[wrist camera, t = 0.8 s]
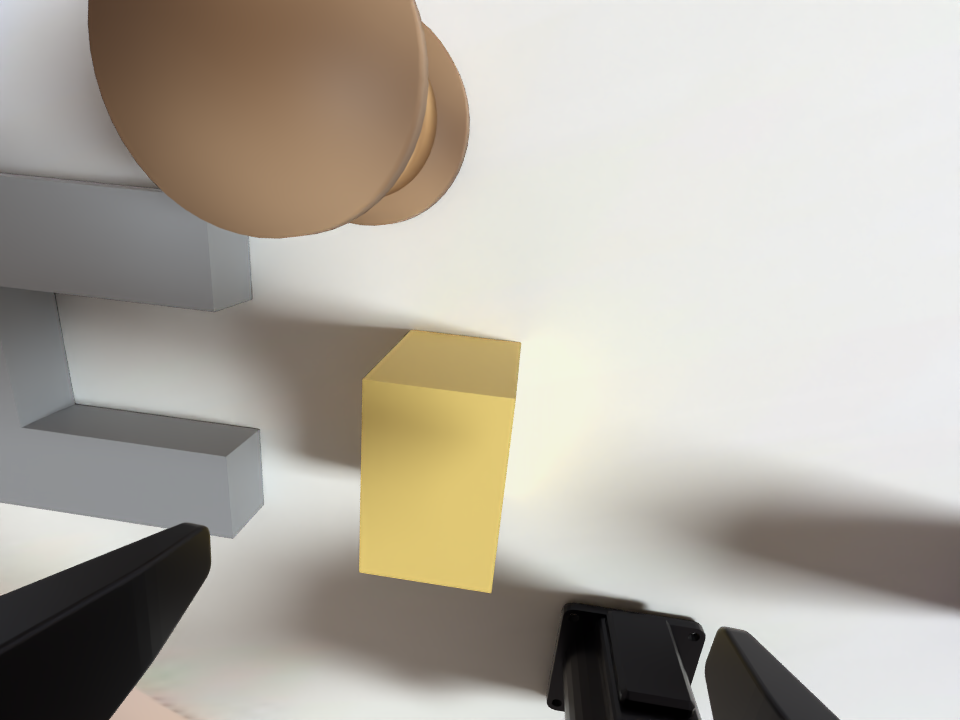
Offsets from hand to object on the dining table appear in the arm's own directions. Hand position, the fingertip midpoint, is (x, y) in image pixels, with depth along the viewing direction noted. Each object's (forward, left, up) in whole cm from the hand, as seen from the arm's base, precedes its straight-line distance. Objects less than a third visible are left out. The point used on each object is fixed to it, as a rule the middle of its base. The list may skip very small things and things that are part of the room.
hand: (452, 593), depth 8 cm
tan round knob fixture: (+9, +6, -12) cm, 16 cm away
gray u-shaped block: (-1, +17, -12) cm, 20 cm away
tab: (-2, +2, -12) cm, 12 cm away
